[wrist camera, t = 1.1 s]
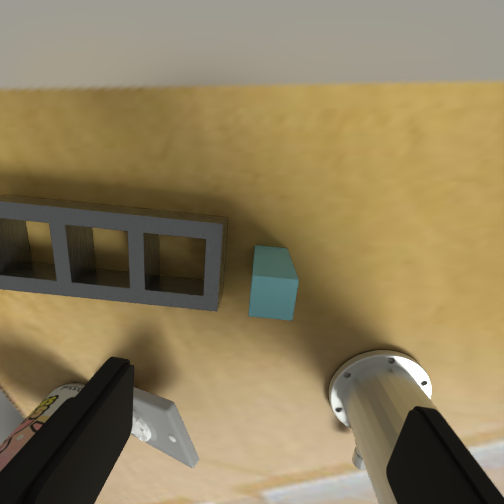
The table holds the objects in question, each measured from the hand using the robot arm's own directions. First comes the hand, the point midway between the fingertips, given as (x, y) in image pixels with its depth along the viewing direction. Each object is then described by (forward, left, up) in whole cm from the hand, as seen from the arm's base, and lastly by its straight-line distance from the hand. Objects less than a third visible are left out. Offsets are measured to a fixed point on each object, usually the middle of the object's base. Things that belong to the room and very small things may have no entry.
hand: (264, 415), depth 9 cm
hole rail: (-2, +16, -21) cm, 26 cm away
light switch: (-22, +12, -21) cm, 33 cm away
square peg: (-2, -1, -21) cm, 21 cm away
